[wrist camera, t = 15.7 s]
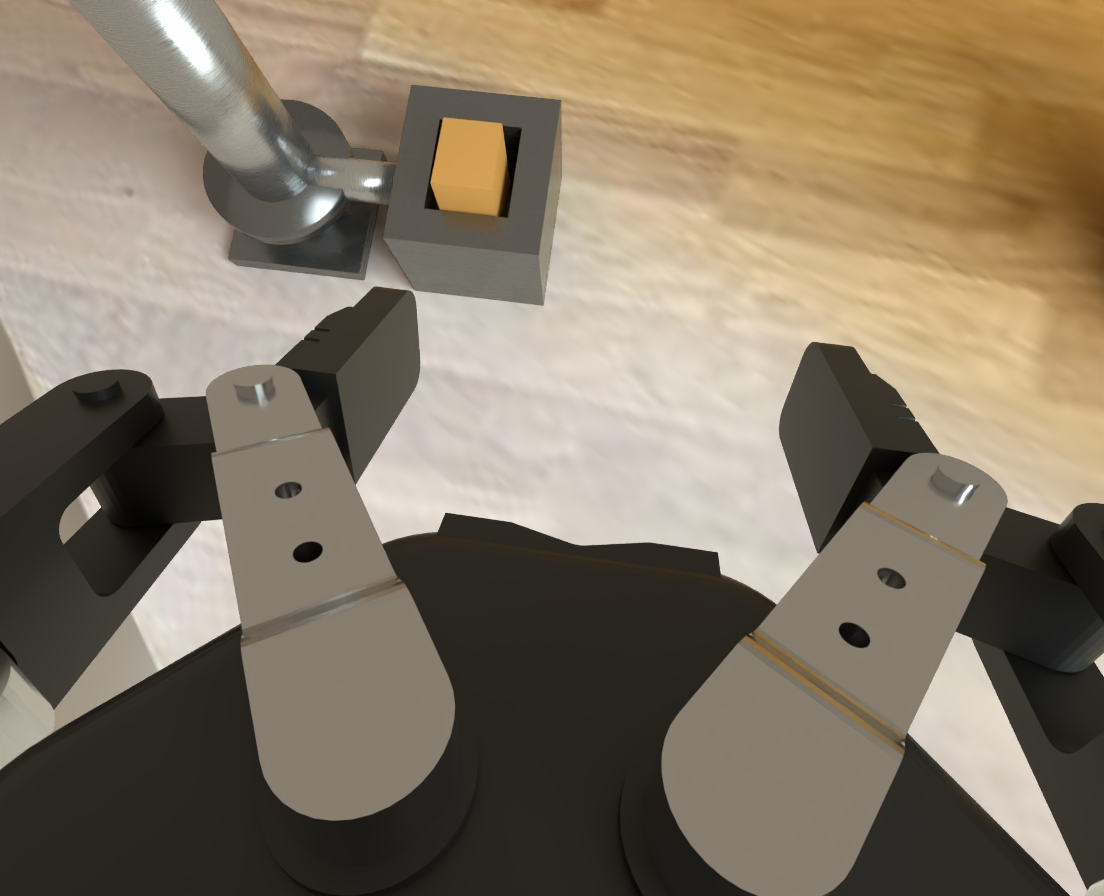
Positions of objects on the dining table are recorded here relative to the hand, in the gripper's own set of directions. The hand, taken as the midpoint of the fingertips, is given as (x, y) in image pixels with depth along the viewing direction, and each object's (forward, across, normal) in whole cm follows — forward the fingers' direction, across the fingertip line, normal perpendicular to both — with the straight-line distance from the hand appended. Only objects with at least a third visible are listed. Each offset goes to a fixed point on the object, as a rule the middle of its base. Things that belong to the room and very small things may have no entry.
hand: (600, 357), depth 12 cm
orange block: (+27, +8, +7) cm, 29 cm away
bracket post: (+29, +15, +7) cm, 33 cm away
